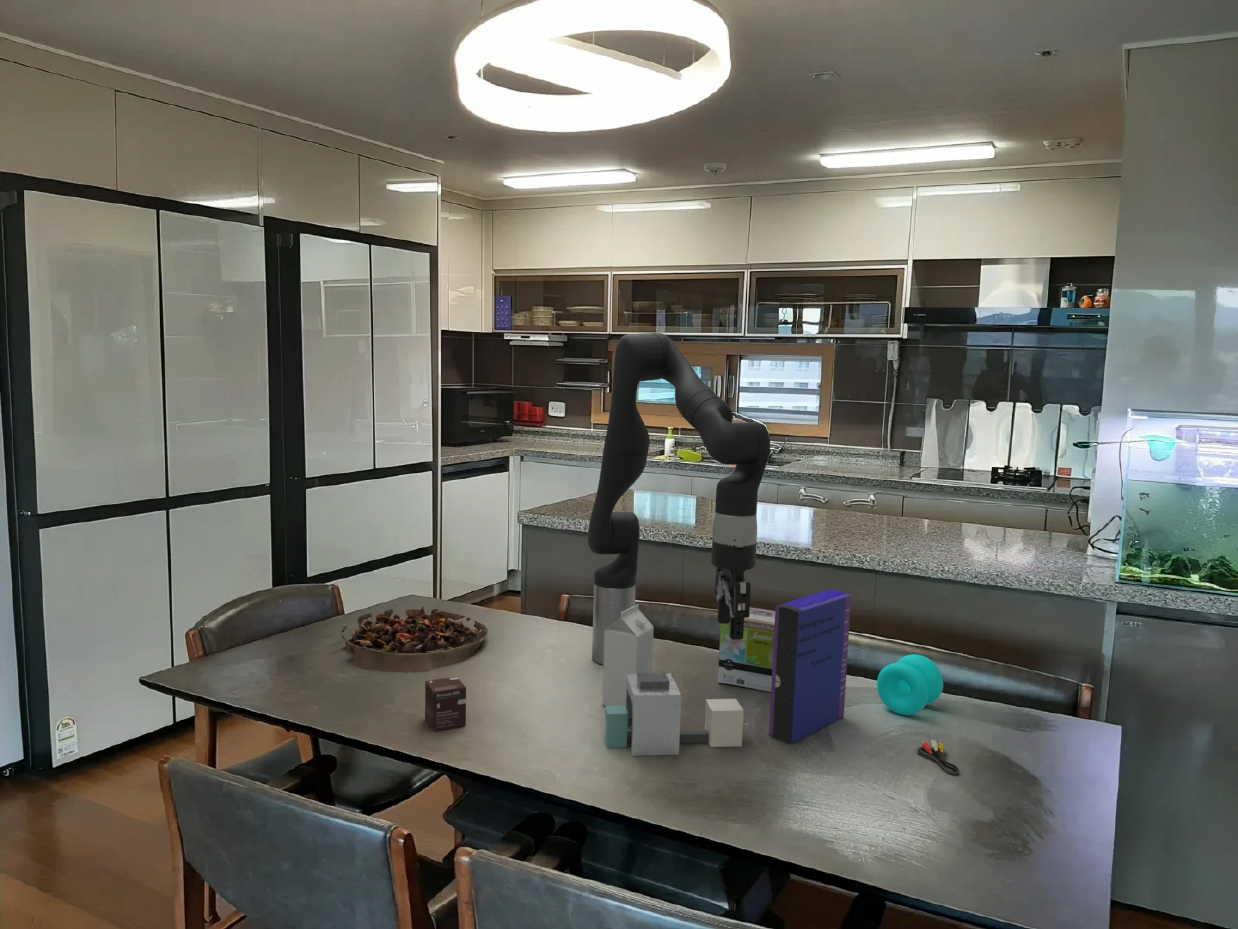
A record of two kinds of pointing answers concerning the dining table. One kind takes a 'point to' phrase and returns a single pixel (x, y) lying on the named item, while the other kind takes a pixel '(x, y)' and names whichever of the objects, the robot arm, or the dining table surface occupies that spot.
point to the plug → (719, 730)
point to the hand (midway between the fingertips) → (729, 630)
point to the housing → (653, 713)
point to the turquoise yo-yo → (909, 684)
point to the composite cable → (937, 756)
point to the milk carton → (626, 653)
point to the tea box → (748, 652)
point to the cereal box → (809, 664)
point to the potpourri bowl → (413, 641)
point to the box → (445, 703)
